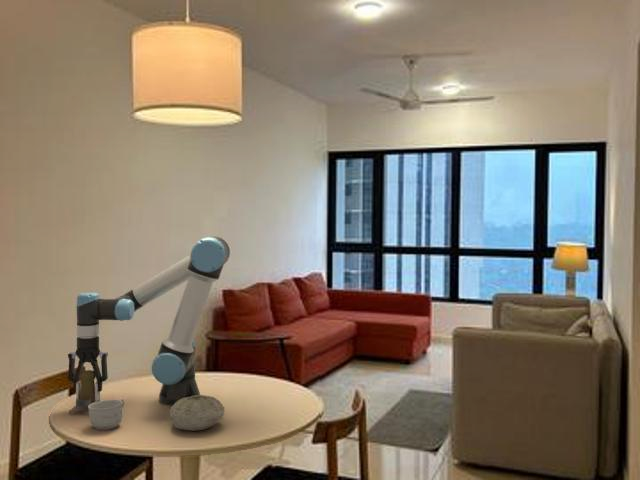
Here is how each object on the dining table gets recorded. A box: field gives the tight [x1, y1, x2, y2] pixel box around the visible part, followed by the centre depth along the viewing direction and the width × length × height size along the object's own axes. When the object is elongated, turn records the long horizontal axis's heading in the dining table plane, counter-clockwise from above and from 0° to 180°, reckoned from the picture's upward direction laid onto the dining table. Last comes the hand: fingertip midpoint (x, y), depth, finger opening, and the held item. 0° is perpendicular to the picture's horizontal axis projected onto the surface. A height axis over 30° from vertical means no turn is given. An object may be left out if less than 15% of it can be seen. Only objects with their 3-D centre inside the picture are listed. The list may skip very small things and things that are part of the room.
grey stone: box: [169, 394, 225, 432], centre depth 208 cm, size 18×18×10 cm
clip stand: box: [68, 398, 101, 415], centre depth 224 cm, size 10×10×5 cm
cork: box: [79, 369, 96, 403], centre depth 224 cm, size 6×6×11 cm
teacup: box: [88, 398, 125, 431], centre depth 208 cm, size 14×11×8 cm
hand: (87, 400), depth 224 cm, fingers closed on cork, 6 cm apart
